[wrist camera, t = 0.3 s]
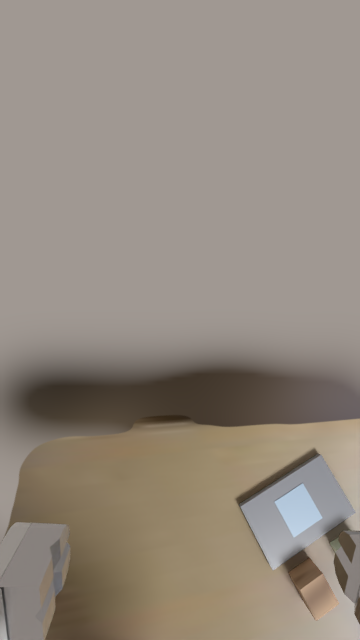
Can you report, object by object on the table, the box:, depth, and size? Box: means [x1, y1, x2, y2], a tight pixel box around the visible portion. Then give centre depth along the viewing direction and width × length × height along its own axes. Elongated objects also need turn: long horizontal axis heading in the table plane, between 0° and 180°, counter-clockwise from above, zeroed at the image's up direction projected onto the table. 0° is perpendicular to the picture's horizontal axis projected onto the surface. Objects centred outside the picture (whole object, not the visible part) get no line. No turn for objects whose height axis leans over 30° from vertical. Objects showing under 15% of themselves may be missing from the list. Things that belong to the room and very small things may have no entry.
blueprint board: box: [239, 454, 356, 570], centre depth 55 cm, size 12×20×1 cm, turn 118°
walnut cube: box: [288, 558, 339, 621], centre depth 50 cm, size 5×5×5 cm
